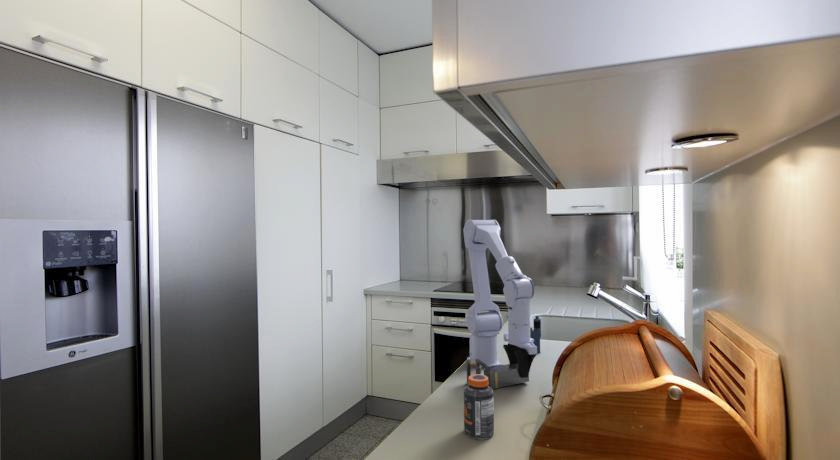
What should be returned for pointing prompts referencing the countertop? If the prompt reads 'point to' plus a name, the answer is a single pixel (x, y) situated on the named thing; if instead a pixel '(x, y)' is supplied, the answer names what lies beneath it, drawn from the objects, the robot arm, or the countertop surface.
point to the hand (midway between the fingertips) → (519, 374)
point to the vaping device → (536, 333)
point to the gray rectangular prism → (505, 375)
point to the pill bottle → (478, 408)
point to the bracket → (479, 362)
